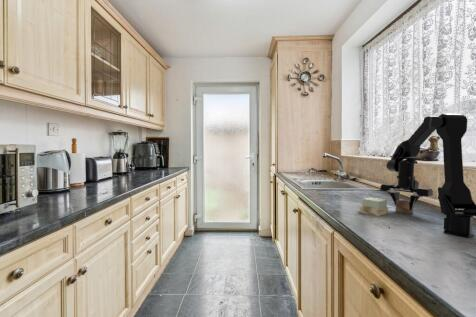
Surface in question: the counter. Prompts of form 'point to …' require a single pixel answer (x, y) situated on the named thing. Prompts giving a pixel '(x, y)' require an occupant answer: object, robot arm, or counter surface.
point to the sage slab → (374, 203)
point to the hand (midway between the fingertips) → (404, 209)
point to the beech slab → (373, 210)
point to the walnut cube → (403, 206)
